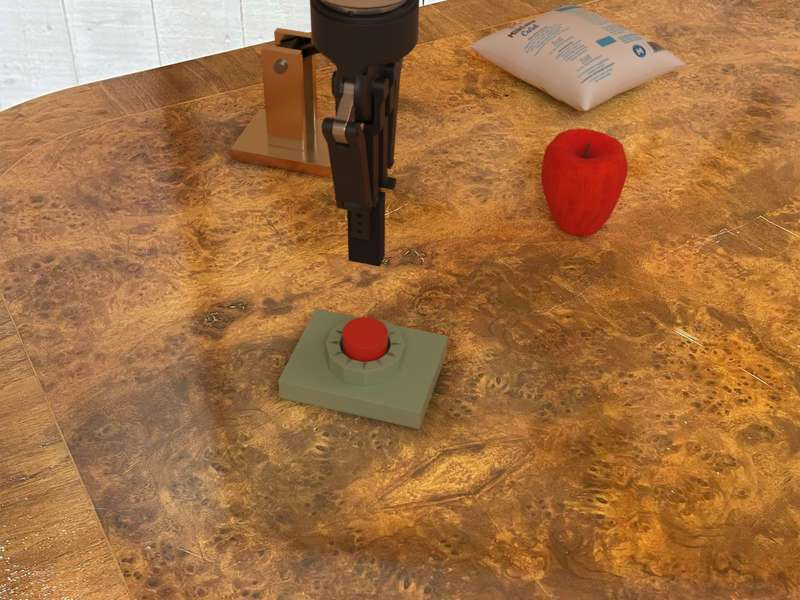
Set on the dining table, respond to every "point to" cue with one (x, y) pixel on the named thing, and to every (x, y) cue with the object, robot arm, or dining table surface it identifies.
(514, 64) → the pouch
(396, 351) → the stop button block
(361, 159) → the robot arm
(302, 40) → the power switch
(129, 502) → the dining table surface
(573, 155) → the apple
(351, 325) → the stop button
